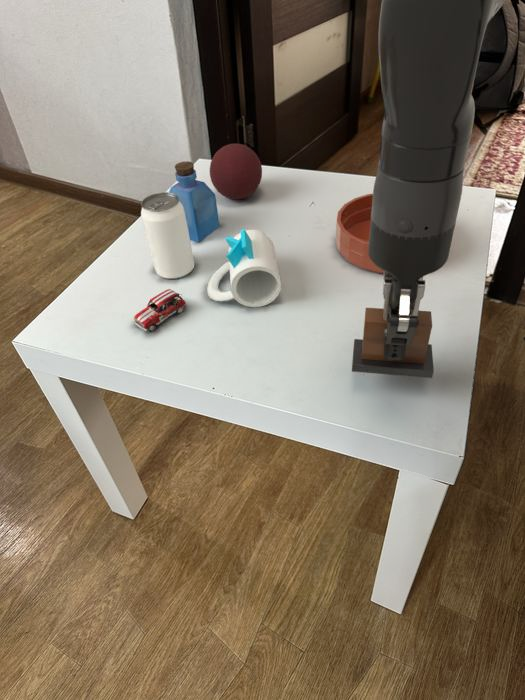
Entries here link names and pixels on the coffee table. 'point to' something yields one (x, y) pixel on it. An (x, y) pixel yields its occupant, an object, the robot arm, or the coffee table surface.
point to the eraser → (372, 346)
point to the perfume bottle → (195, 202)
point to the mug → (248, 270)
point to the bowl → (356, 232)
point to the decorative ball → (235, 171)
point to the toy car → (159, 309)
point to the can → (167, 235)
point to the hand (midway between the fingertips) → (393, 348)
